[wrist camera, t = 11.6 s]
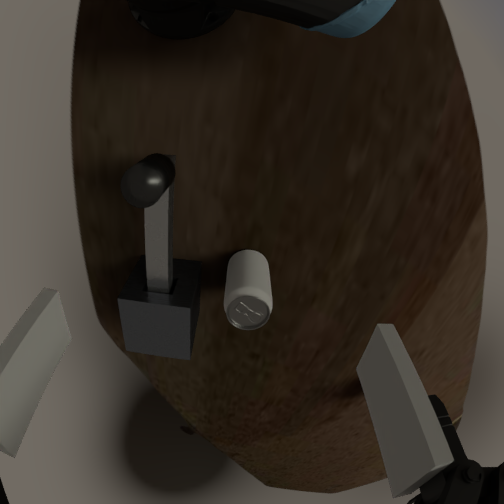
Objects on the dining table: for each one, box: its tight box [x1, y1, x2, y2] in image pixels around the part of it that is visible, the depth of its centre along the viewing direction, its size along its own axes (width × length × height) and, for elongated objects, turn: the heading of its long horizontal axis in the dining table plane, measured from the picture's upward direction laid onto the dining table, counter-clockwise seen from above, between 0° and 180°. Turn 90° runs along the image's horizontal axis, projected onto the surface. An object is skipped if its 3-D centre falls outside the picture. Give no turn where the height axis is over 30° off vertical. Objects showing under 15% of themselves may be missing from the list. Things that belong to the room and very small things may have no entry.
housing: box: [117, 255, 202, 360], centre depth 47 cm, size 10×10×12 cm
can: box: [224, 250, 272, 330], centre depth 45 cm, size 6×6×12 cm
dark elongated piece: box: [121, 153, 176, 295], centre depth 38 cm, size 26×4×9 cm, turn 173°
